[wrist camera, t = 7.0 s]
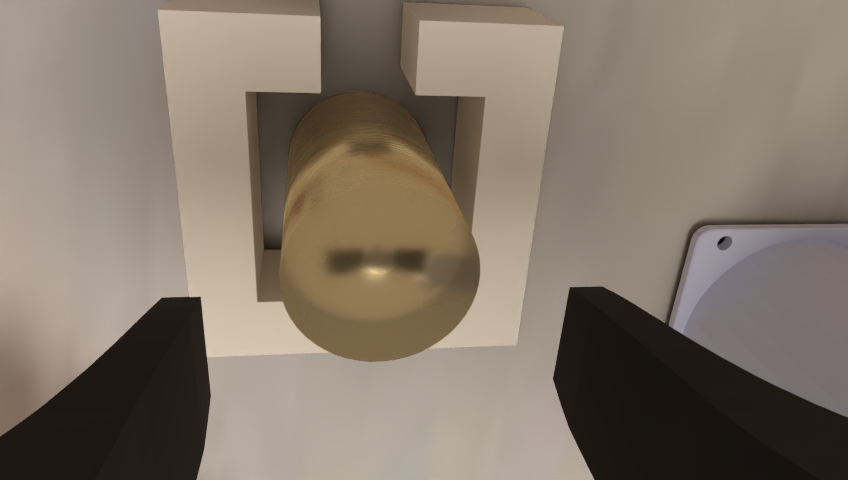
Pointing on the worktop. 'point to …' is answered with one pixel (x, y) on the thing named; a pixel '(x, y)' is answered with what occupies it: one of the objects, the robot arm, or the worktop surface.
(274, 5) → the dock
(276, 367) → the worktop surface
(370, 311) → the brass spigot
